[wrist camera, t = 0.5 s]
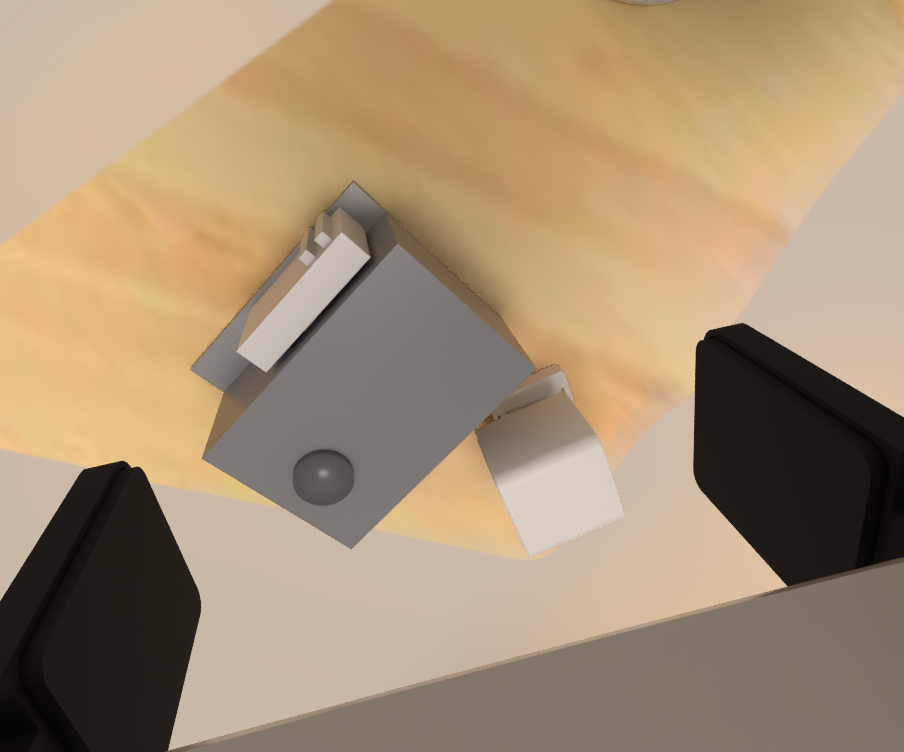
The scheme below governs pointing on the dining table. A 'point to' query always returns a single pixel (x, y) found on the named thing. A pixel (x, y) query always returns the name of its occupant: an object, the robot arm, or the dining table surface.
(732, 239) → the dining table surface
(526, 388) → the white rounded housing
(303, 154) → the dining table surface
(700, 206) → the dining table surface
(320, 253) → the door
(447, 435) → the camera case
